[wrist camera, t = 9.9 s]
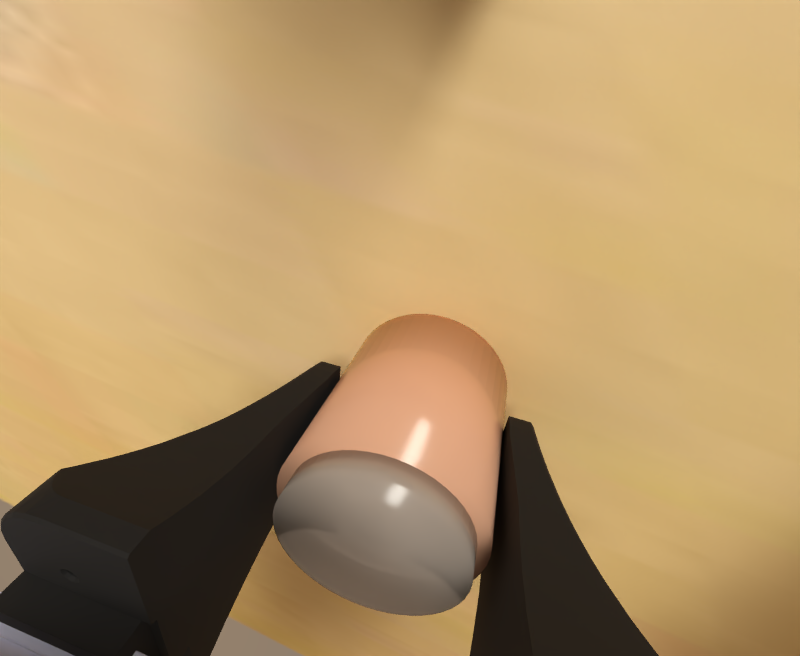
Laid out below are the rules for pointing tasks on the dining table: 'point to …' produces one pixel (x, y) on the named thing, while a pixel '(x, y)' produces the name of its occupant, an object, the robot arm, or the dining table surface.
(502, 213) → the dining table surface
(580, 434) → the dining table surface
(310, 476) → the terracotta jar
